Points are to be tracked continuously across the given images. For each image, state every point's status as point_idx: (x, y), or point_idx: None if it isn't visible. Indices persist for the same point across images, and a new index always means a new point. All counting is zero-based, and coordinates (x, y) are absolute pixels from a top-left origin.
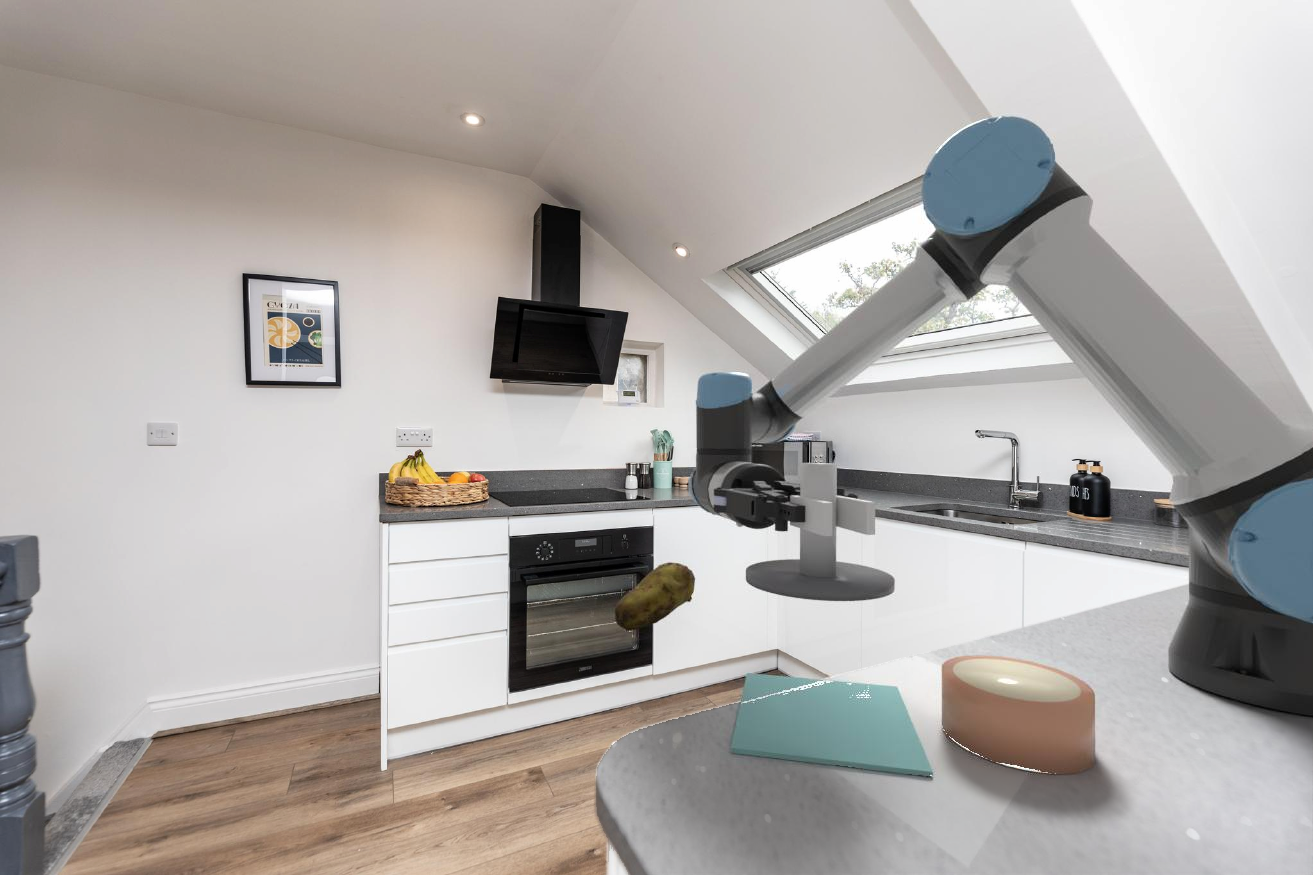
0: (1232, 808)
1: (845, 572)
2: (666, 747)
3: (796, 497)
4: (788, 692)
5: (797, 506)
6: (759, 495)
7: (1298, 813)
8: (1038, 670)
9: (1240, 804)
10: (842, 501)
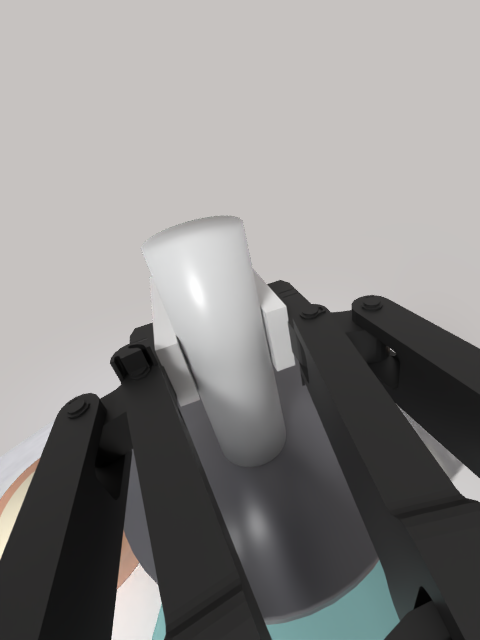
0: (42, 448)
1: (198, 455)
2: (437, 444)
3: (272, 292)
4: (329, 626)
5: (275, 282)
6: (372, 297)
7: (11, 450)
8: (8, 531)
9: (31, 453)
10: None
